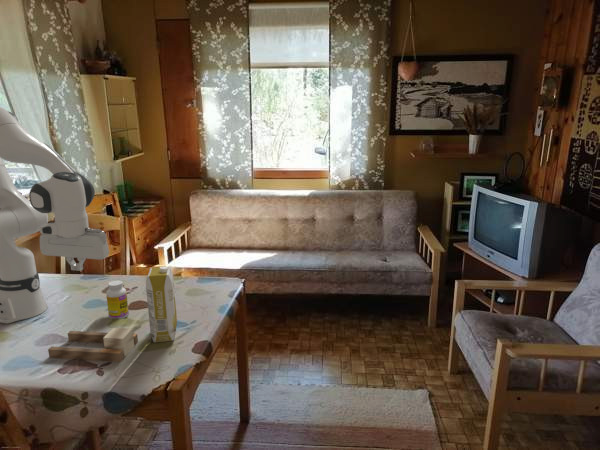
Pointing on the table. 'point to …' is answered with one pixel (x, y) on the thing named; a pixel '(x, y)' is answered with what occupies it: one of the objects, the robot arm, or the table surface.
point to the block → (120, 340)
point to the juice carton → (161, 304)
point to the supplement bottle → (117, 300)
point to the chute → (88, 353)
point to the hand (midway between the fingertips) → (77, 269)
